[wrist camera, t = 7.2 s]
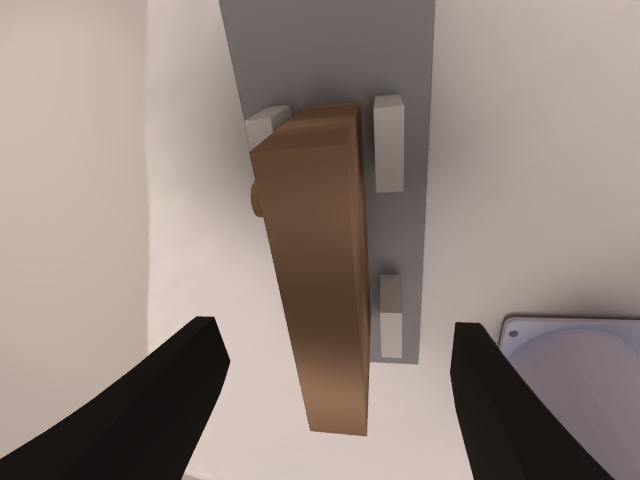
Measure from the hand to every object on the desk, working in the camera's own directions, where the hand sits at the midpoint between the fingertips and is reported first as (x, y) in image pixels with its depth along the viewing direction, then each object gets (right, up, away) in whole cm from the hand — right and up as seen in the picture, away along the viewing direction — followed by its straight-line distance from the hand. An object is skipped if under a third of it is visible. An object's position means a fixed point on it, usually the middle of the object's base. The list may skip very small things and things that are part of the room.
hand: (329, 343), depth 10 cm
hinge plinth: (+1, +5, +8) cm, 9 cm away
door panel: (+1, +4, +7) cm, 8 cm away
